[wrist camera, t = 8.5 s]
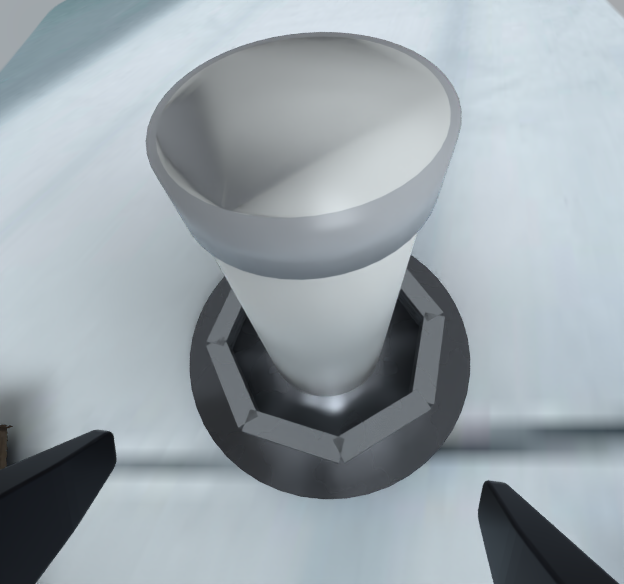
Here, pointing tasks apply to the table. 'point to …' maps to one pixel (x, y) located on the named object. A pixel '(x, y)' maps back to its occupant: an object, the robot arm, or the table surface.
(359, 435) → the collar
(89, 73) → the table surface
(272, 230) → the capped white cylinder
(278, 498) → the table surface
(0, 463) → the box
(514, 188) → the table surface
